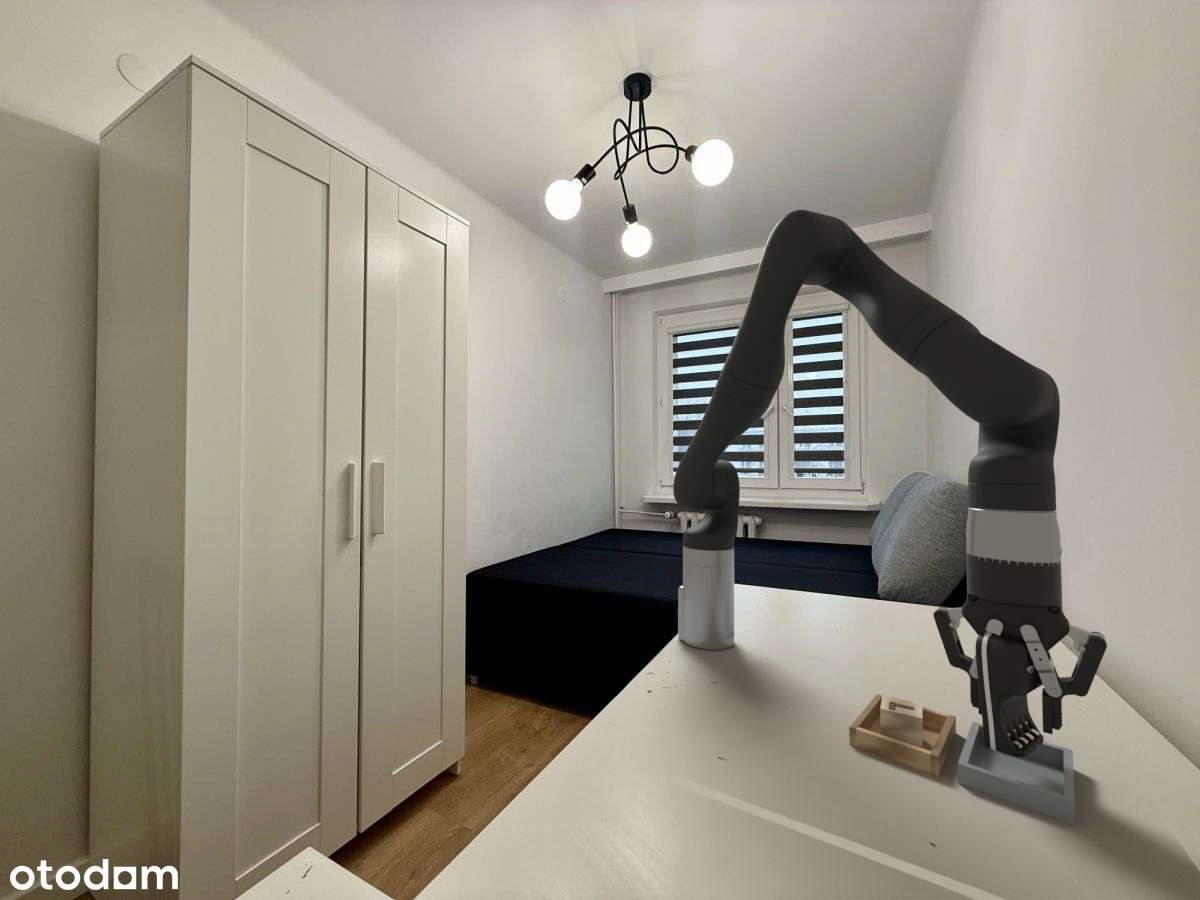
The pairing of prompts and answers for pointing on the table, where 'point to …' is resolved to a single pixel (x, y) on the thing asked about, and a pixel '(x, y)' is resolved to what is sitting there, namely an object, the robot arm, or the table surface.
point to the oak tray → (928, 759)
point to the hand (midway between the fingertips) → (1015, 720)
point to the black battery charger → (1007, 694)
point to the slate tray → (1021, 776)
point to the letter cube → (902, 720)
